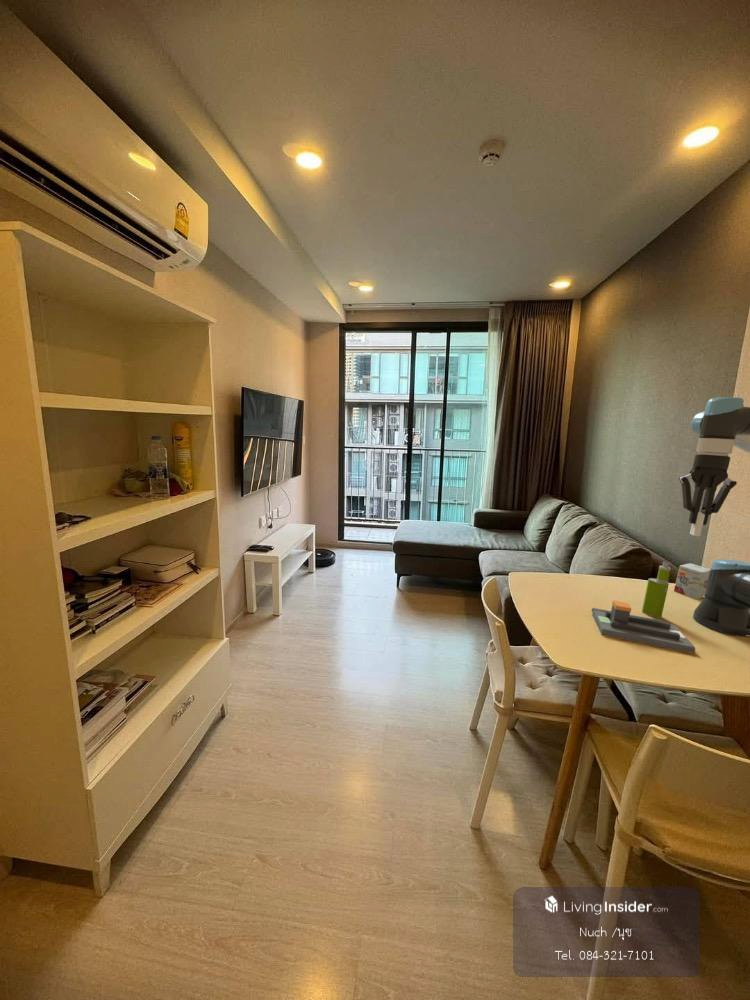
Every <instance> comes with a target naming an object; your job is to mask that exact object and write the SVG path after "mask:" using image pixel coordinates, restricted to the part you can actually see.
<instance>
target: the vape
mask: <svg viewBox="0 0 750 1000" xmlns="http://www.w3.org/2000/svg"><path fill="white" fill-rule="evenodd" d="M671 570H672V568H671V567H670V562H669V561H663V562H662V565H659V566H658V572H657V576H656V578H653V577H650V578H648V581H647V583H646V584H647V585H646V589H645V594H644V599H643V605H642V608H641V613H643V614H645V615H647V616H650V617H651V618H653V619H655V618H656V619H662V616H663V613H664V612H663V611H664V607H665V603H666V598H667V593H668V590H669V579H670V575H671Z"/></svg>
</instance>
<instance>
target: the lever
mask: <svg viewBox="0 0 750 1000" xmlns="http://www.w3.org/2000/svg"><path fill="white" fill-rule="evenodd" d="M611 602H612V603H611V604H612V605H611V610H610V611H611V615H610V619H611V620H613V621H619V622H624V623H628V620H629V615H631V612H632V607H631V606H630V605H629V603H628V602H626V601H625V602H623V601H618V600H612V601H611Z"/></svg>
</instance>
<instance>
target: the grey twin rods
mask: <svg viewBox="0 0 750 1000" xmlns="http://www.w3.org/2000/svg"><path fill="white" fill-rule="evenodd" d="M593 610H597V611H602V612H605V611H610V612H611V610H607V609H602V608H596V607H592V608H591V612H592V613H593ZM630 615H631V616H637V617H642V618H647V619H653V620H658V621H663V622H668V621H666V620H660V619H657V618H656V619H655V618H652V617H651V618H649V617H646V616H645V617H644V616H639V615H633V614H630Z"/></svg>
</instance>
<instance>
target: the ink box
mask: <svg viewBox="0 0 750 1000" xmlns="http://www.w3.org/2000/svg"><path fill="white" fill-rule="evenodd" d="M710 569H711V568H708V567H707V568H706V567H703V566H701V565H697V564H694V563H685V564H681V565H679V568H678V572H677V576H676V580H675V585H674V589H673V592H676V593H678V594H681V595H684V596H685V597H689V598H692V599H695V600H700V599H702V598H703V596H705V593H706V588H707V583H708V578H709V574H710ZM703 599H704V598H703Z"/></svg>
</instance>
